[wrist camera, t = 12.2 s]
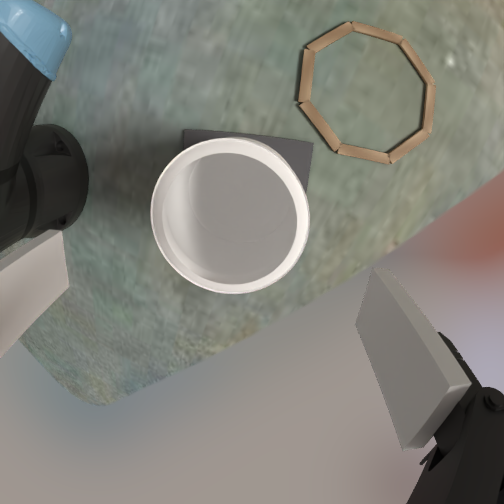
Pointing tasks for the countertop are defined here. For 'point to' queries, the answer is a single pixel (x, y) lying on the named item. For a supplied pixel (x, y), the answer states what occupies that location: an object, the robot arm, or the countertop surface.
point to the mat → (290, 150)
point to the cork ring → (321, 123)
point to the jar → (230, 215)
